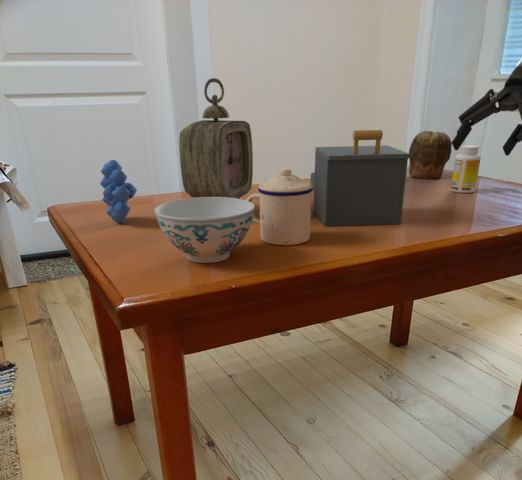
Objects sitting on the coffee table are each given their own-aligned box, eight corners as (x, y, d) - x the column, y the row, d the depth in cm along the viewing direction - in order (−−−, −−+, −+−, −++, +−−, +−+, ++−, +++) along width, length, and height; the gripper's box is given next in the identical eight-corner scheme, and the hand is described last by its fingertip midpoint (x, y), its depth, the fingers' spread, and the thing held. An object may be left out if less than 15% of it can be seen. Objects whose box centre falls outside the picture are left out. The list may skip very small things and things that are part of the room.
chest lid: (409, 158, 90) (412, 130, 88) (328, 160, 89) (329, 132, 87) (387, 149, 102) (389, 124, 100) (315, 151, 101) (316, 126, 99)
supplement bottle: (478, 190, 123) (486, 145, 118) (469, 194, 120) (477, 148, 115) (456, 188, 126) (462, 144, 122) (446, 191, 123) (453, 146, 118)
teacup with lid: (318, 235, 90) (321, 166, 85) (299, 248, 83) (300, 174, 78) (258, 228, 95) (257, 162, 89) (235, 241, 88) (232, 170, 82)
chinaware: (231, 238, 89) (229, 193, 86) (272, 261, 77) (272, 210, 74) (148, 251, 83) (142, 203, 79) (180, 278, 71) (174, 223, 68)
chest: (400, 223, 96) (408, 158, 91) (324, 226, 95) (327, 160, 90) (381, 209, 108) (387, 149, 102) (313, 211, 107) (315, 151, 101)
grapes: (150, 226, 98) (143, 160, 92) (116, 231, 95) (105, 163, 89) (132, 214, 107) (124, 154, 101) (99, 219, 104) (89, 156, 98)
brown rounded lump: (413, 181, 136) (418, 132, 131) (401, 174, 146) (406, 129, 141) (453, 180, 137) (460, 131, 131) (439, 173, 146) (445, 128, 141)
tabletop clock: (221, 223, 98) (214, 77, 87) (182, 219, 102) (169, 78, 90) (253, 208, 110) (250, 77, 98) (217, 205, 113) (210, 78, 102)
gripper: (477, 65, 128) (430, 134, 127) (579, 61, 110) (525, 141, 109) (485, 88, 133) (440, 154, 132) (584, 88, 115) (533, 165, 114)
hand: (478, 149), depth 121 cm, fingers open, 13 cm apart
